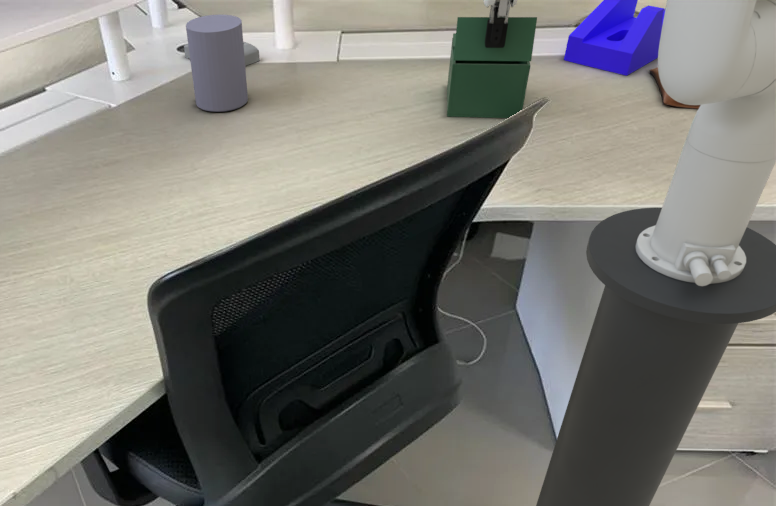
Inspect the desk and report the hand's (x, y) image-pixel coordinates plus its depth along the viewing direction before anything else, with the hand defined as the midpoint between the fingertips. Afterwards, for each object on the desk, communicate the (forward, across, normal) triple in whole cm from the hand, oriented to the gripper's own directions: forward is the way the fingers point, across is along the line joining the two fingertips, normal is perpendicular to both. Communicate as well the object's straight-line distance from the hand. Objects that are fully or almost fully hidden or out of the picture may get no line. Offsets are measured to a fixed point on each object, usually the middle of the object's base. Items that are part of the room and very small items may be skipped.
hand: (494, 45), depth 118 cm
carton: (+13, -8, 0) cm, 15 cm away
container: (+13, -5, -50) cm, 52 cm away
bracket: (+13, -35, +29) cm, 47 cm away
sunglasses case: (+13, -16, +36) cm, 42 cm away
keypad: (+13, -29, -56) cm, 64 cm away
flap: (0, -2, 0) cm, 2 cm away
